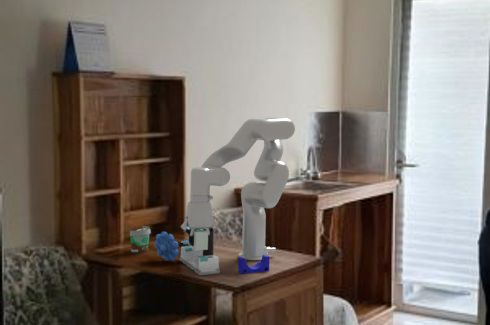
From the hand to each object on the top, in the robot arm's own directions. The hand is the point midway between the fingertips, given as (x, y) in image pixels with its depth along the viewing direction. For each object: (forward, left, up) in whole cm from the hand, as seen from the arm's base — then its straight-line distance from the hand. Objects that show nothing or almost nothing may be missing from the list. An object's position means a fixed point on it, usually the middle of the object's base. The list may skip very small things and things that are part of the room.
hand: (198, 244), depth 282 cm
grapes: (+10, -13, -9) cm, 19 cm away
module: (0, 0, -2) cm, 2 cm away
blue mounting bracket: (-18, +13, -10) cm, 24 cm away
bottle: (-8, -15, -9) cm, 20 cm away
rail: (0, 0, -9) cm, 9 cm away
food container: (+14, -33, -9) cm, 37 cm away
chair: (-12, -42, -9) cm, 45 cm away
